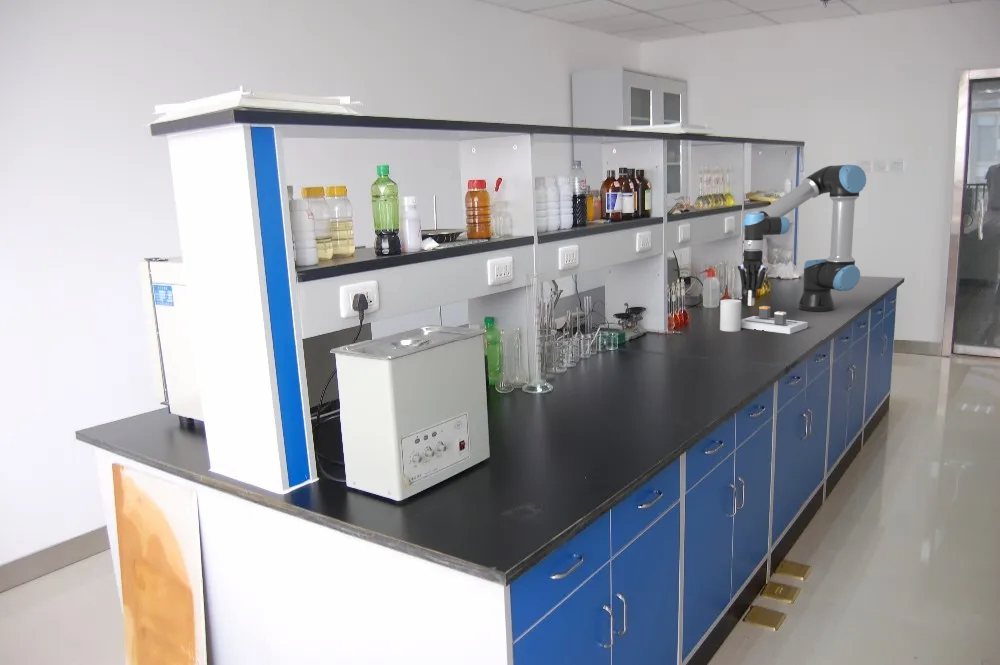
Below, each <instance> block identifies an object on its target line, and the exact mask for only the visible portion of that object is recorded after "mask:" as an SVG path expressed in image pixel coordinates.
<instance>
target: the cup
mask: <svg viewBox="0 0 1000 665" xmlns="http://www.w3.org/2000/svg"><path fill="white" fill-rule="evenodd" d="M719 306H720V310H719V311H720V313H719V314H720V317H719V330H720V331H722V332H729V333H730V332H739V331H741V329H742V328H741V320H742V300H741V299H731V298H728V299H721V300H720V305H719Z"/></svg>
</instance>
